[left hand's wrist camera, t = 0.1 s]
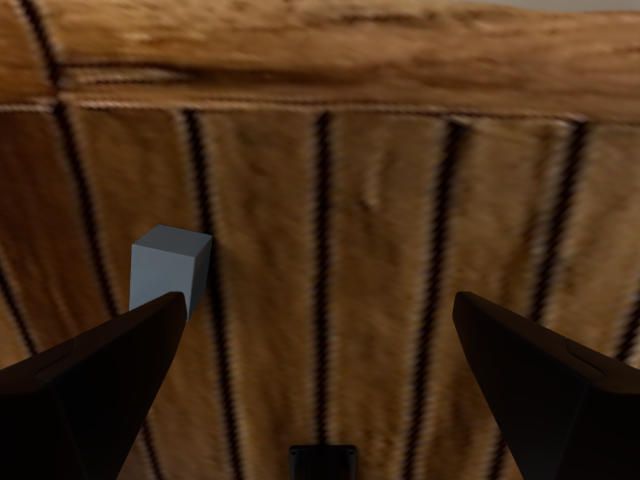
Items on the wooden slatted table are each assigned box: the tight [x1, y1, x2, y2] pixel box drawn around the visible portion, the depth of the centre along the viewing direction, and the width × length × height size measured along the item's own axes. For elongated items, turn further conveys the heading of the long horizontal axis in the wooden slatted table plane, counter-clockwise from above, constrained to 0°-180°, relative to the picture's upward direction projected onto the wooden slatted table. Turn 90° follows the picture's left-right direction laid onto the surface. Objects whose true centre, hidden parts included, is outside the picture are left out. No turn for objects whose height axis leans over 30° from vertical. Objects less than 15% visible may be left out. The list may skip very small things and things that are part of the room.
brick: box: [129, 224, 213, 322], centre depth 25 cm, size 4×5×4 cm
